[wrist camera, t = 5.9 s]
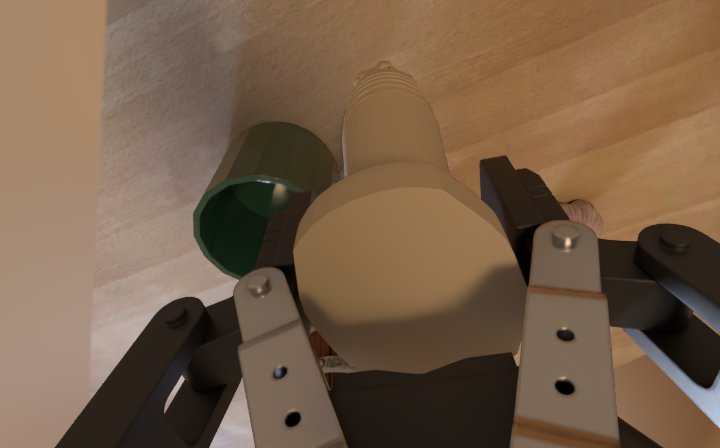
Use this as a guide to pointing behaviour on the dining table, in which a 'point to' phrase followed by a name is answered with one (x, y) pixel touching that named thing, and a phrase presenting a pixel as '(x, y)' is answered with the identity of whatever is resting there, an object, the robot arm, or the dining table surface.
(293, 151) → the cup
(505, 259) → the handle
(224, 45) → the dining table surface
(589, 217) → the garlic bulb
